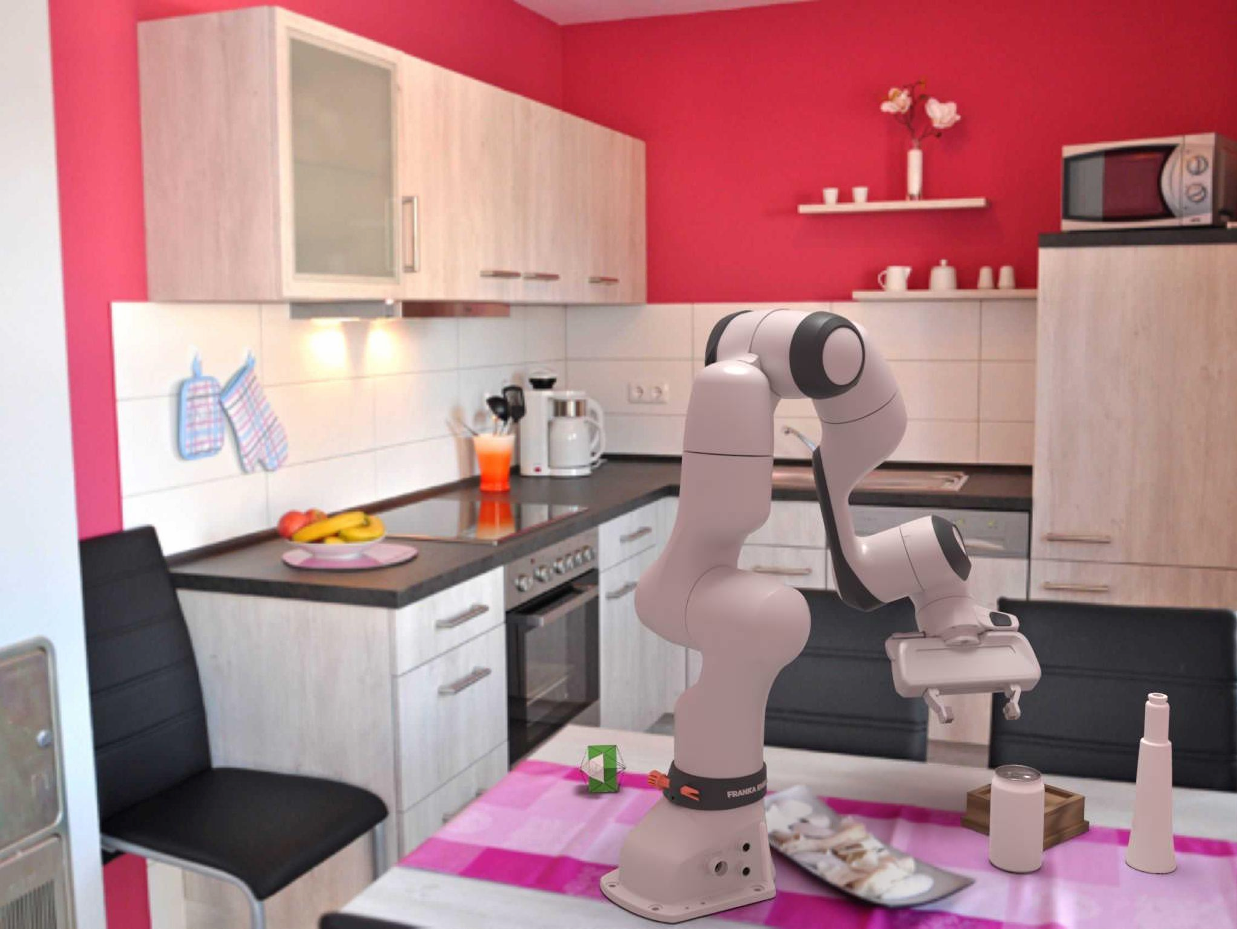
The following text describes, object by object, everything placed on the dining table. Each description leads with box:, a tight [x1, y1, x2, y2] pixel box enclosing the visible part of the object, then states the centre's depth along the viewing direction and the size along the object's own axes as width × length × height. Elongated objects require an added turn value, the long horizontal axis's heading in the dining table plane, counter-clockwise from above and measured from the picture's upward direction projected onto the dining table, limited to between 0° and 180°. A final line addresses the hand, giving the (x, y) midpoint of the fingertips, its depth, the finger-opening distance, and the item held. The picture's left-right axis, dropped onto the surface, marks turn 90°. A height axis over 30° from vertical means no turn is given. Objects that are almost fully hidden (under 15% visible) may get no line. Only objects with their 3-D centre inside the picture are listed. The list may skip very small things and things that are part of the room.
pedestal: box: [960, 782, 1090, 851], centre depth 178 cm, size 12×12×5 cm
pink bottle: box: [1124, 692, 1177, 875], centre depth 165 cm, size 6×6×22 cm
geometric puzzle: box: [578, 744, 628, 793], centre depth 193 cm, size 7×7×8 cm
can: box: [988, 764, 1045, 874], centre depth 166 cm, size 6×6×12 cm
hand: (980, 719), depth 176 cm, fingers open, 8 cm apart
